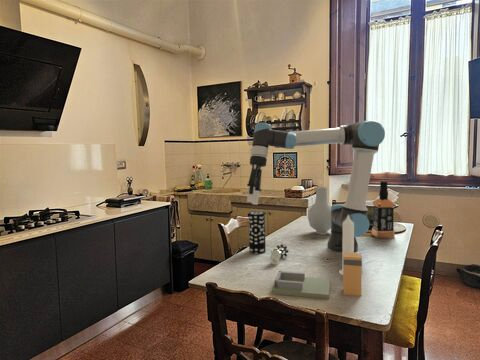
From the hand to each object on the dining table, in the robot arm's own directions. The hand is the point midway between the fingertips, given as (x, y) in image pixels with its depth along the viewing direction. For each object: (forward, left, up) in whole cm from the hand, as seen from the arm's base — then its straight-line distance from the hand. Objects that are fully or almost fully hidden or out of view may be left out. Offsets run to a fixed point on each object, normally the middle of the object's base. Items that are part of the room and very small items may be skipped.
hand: (252, 203), depth 155 cm
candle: (-35, +22, -29) cm, 50 cm away
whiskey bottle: (-85, -24, -29) cm, 93 cm away
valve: (-12, -2, -29) cm, 31 cm away
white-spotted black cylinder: (-7, -19, -29) cm, 35 cm away
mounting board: (-11, +30, -28) cm, 43 cm away
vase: (-55, -41, -29) cm, 74 cm away
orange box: (-26, +39, -28) cm, 55 cm away
